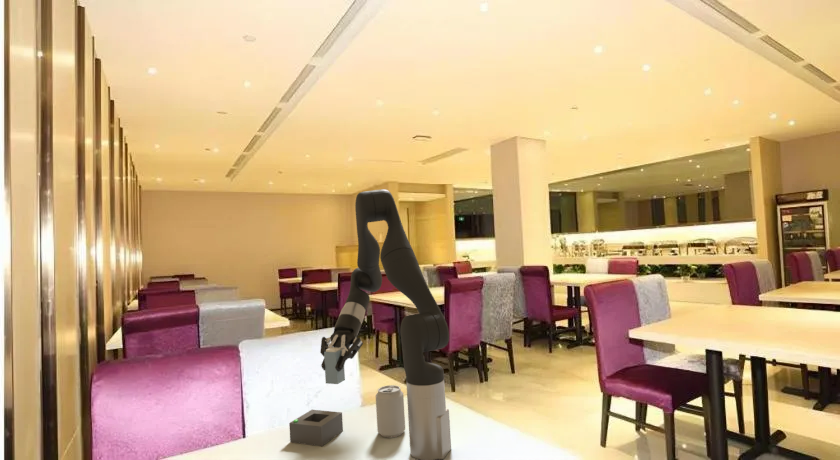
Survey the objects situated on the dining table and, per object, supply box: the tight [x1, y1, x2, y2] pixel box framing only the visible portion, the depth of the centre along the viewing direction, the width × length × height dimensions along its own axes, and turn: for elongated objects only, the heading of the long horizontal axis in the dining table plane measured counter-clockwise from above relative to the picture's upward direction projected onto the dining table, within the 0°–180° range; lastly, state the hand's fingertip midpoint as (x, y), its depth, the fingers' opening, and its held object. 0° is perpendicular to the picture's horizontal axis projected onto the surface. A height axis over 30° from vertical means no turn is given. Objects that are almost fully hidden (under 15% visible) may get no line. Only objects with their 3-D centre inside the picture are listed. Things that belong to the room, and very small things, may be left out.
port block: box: [289, 409, 344, 447], centre depth 123 cm, size 10×10×5 cm
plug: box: [323, 347, 346, 385], centre depth 133 cm, size 4×4×10 cm
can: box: [375, 384, 406, 439], centre depth 123 cm, size 8×8×12 cm
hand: (330, 369), depth 131 cm, fingers closed on plug, 4 cm apart
